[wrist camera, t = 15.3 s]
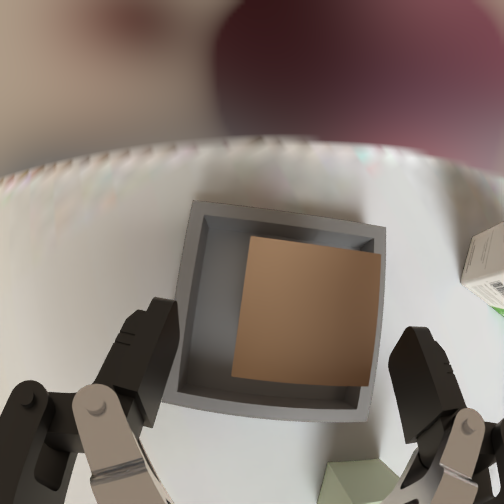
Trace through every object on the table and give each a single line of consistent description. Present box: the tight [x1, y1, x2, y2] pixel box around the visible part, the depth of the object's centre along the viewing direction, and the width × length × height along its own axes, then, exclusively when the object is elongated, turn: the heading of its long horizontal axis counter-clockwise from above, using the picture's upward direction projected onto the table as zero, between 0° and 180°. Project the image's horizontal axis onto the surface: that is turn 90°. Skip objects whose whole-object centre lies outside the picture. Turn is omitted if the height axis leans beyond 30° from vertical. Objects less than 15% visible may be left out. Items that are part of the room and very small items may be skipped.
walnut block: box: [231, 236, 381, 387], centre depth 13 cm, size 4×4×10 cm
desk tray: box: [162, 200, 386, 422], centre depth 17 cm, size 12×12×3 cm
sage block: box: [317, 459, 400, 504], centre depth 13 cm, size 4×4×6 cm
